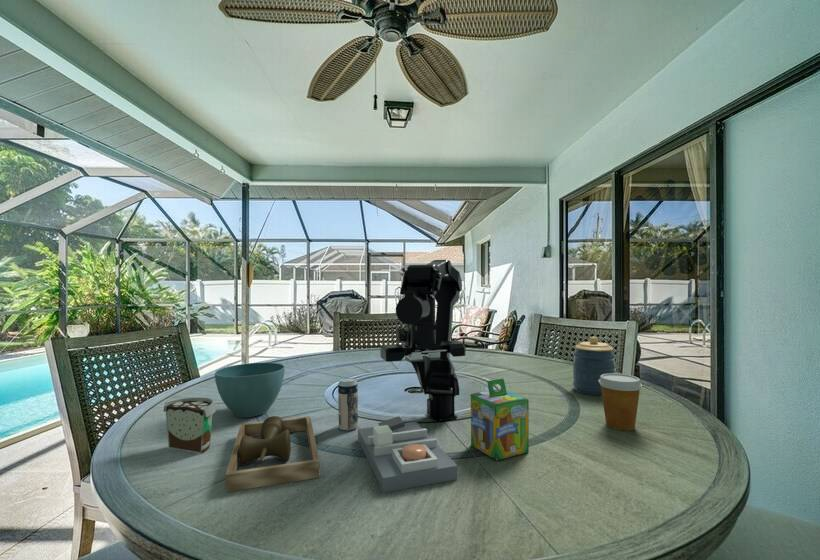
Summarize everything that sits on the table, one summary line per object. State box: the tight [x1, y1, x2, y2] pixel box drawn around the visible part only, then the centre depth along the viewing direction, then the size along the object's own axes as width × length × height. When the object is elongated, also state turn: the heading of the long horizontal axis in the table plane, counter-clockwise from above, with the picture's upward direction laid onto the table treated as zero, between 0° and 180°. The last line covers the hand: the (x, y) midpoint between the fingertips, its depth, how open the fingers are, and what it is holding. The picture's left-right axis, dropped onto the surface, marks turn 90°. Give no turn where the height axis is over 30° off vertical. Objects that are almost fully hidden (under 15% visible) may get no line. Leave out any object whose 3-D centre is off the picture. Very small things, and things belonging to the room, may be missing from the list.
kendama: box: [239, 415, 292, 466], centre depth 85 cm, size 6×10×20 cm
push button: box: [402, 444, 426, 462], centre depth 74 cm, size 4×4×2 cm
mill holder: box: [225, 415, 320, 493], centre depth 84 cm, size 16×26×3 cm, turn 18°
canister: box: [572, 336, 617, 397], centre depth 129 cm, size 13×13×18 cm
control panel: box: [357, 421, 458, 494], centre depth 82 cm, size 14×24×4 cm, turn 18°
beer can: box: [337, 377, 359, 432], centre depth 99 cm, size 5×5×12 cm
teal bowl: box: [214, 362, 286, 418], centre depth 111 cm, size 18×18×12 cm
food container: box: [163, 396, 216, 455], centre depth 89 cm, size 12×6×10 cm, turn 71°
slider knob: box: [372, 425, 393, 447], centre depth 81 cm, size 3×4×4 cm
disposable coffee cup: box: [599, 373, 643, 431], centre depth 98 cm, size 10×10×12 cm
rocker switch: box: [378, 415, 405, 431], centre depth 90 cm, size 5×4×1 cm
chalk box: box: [469, 378, 530, 462], centre depth 86 cm, size 9×9×15 cm
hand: (423, 388), depth 90 cm, fingers closed
